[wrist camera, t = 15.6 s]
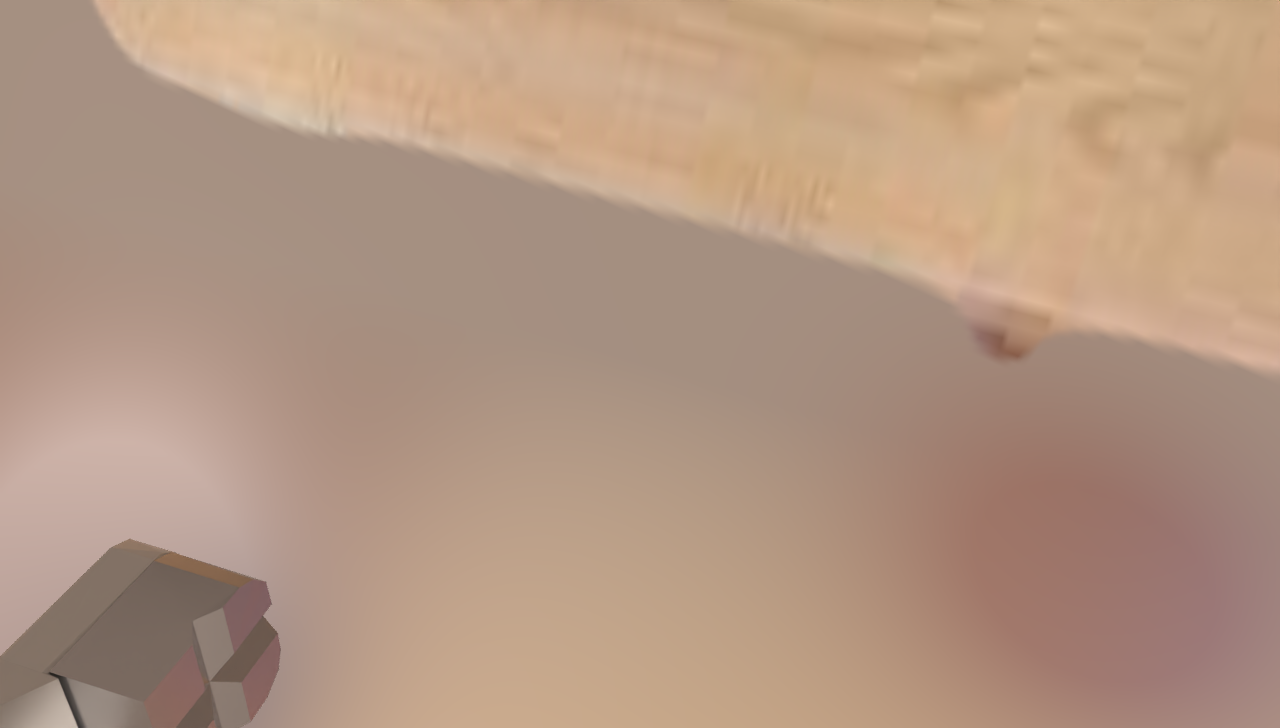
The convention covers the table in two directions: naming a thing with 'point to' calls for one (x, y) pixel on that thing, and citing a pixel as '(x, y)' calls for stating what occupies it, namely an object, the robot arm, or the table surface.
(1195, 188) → the table surface
